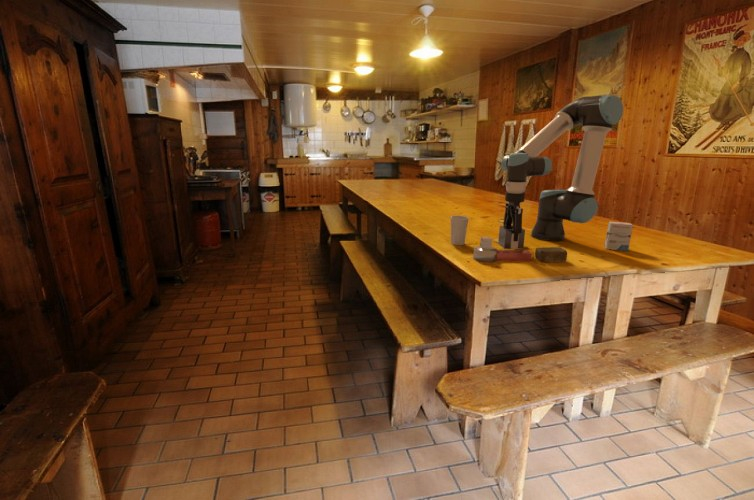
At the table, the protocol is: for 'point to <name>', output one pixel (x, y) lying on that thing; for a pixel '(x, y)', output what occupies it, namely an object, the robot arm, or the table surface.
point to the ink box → (618, 236)
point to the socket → (509, 237)
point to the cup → (458, 229)
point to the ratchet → (498, 253)
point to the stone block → (551, 254)
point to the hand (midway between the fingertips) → (510, 245)
